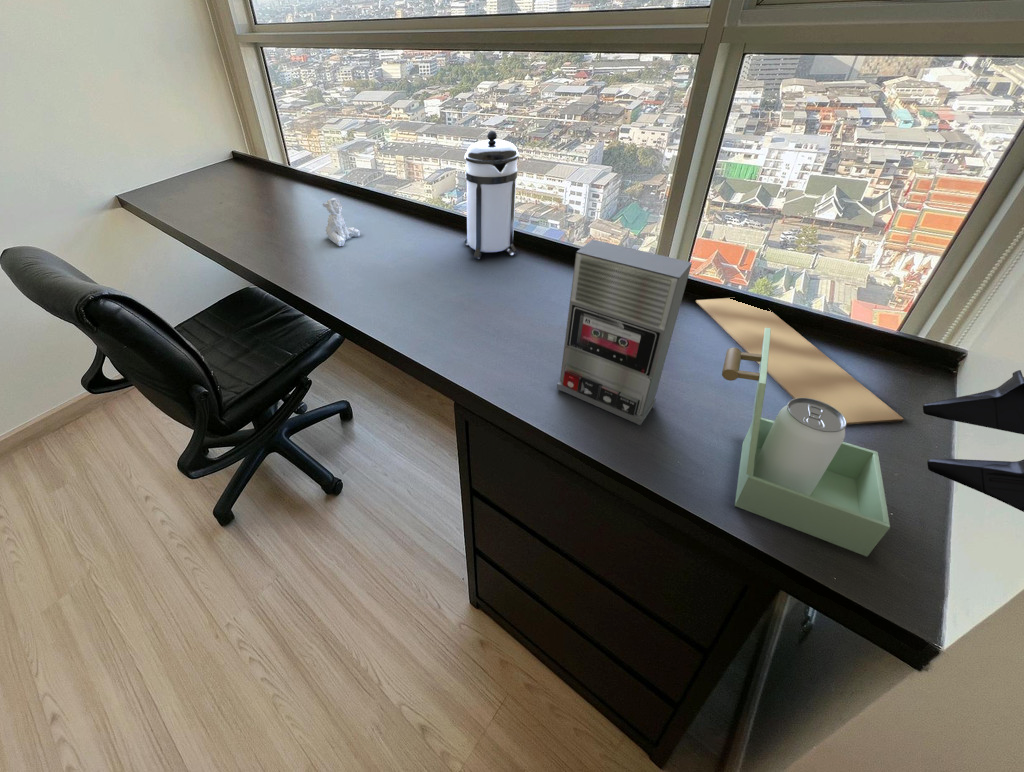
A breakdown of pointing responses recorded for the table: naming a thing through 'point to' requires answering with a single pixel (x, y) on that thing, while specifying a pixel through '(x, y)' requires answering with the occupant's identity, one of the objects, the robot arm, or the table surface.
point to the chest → (823, 497)
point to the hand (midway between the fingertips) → (925, 435)
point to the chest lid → (733, 373)
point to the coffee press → (491, 195)
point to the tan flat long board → (798, 362)
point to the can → (801, 445)
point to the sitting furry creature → (338, 223)
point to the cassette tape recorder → (620, 326)
